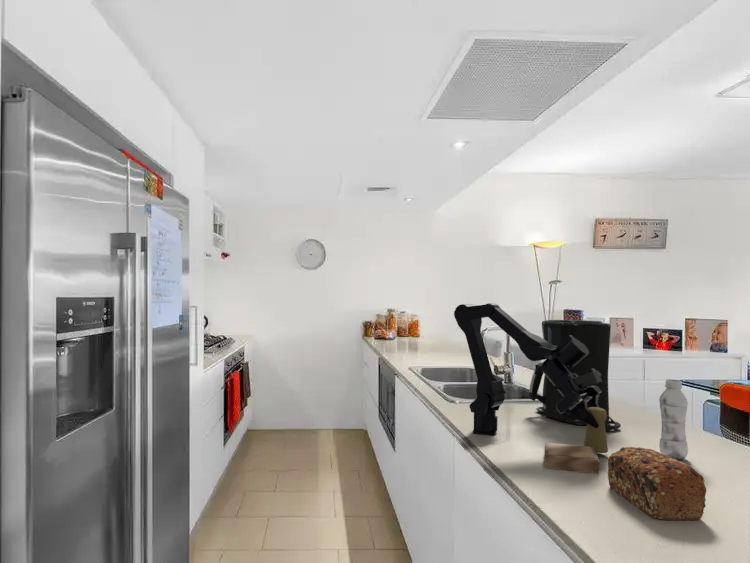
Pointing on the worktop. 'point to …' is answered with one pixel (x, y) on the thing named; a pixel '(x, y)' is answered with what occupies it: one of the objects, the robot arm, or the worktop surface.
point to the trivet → (571, 457)
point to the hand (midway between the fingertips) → (601, 425)
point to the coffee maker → (597, 344)
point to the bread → (657, 484)
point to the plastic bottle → (673, 420)
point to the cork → (597, 431)
